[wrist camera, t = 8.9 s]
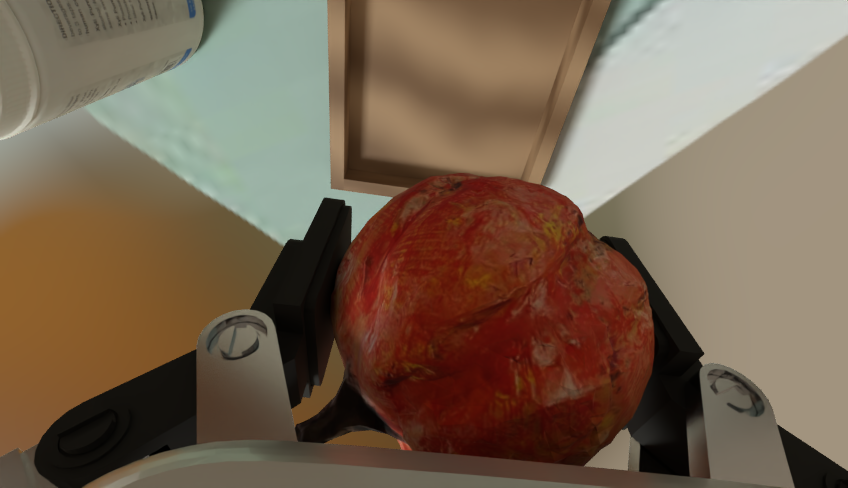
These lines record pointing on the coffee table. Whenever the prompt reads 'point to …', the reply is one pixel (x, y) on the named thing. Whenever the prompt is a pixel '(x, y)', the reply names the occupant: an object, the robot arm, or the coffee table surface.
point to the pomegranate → (487, 326)
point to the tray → (451, 87)
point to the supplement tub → (86, 52)
